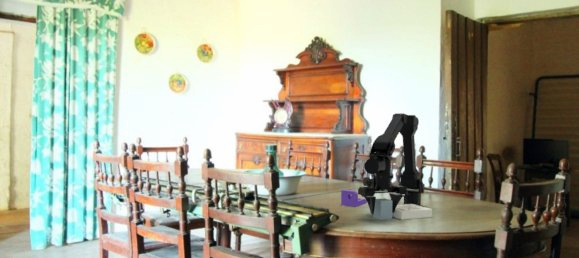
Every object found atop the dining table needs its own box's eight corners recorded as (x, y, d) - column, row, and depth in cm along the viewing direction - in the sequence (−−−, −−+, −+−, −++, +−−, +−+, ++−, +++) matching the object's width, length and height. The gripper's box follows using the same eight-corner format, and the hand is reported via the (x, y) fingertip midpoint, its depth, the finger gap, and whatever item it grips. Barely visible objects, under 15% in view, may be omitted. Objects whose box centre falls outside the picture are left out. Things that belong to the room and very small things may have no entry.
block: (384, 216, 178) (384, 198, 178) (392, 219, 174) (392, 200, 174) (373, 217, 177) (373, 199, 176) (380, 220, 172) (381, 201, 172)
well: (412, 211, 189) (412, 203, 189) (431, 217, 178) (432, 209, 178) (383, 213, 184) (383, 206, 184) (401, 219, 173) (401, 211, 172)
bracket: (355, 207, 197) (355, 191, 197) (341, 206, 200) (341, 190, 200) (366, 203, 207) (366, 188, 207) (352, 202, 211) (352, 187, 211)
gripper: (391, 169, 186) (390, 208, 186) (350, 170, 179) (350, 210, 179) (408, 172, 176) (407, 213, 176) (366, 173, 168) (365, 216, 169)
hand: (382, 213), depth 175 cm, fingers open, 8 cm apart
